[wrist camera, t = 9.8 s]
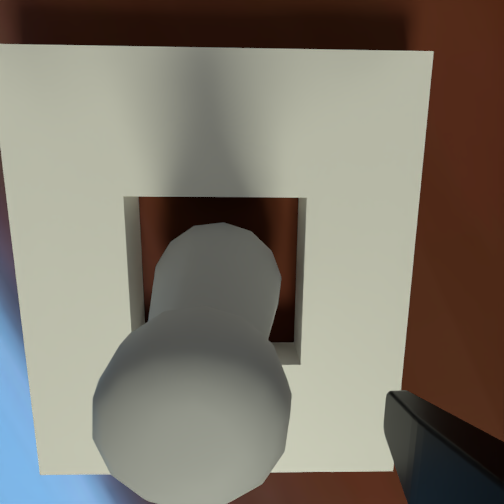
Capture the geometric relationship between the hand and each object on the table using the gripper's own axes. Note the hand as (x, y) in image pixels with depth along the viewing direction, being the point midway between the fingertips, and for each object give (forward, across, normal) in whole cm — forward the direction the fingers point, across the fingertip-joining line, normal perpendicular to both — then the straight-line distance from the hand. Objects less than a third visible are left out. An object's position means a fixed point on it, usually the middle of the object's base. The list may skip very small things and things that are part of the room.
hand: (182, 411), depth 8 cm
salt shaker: (+12, 0, 0) cm, 12 cm away
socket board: (+12, 0, 0) cm, 12 cm away
